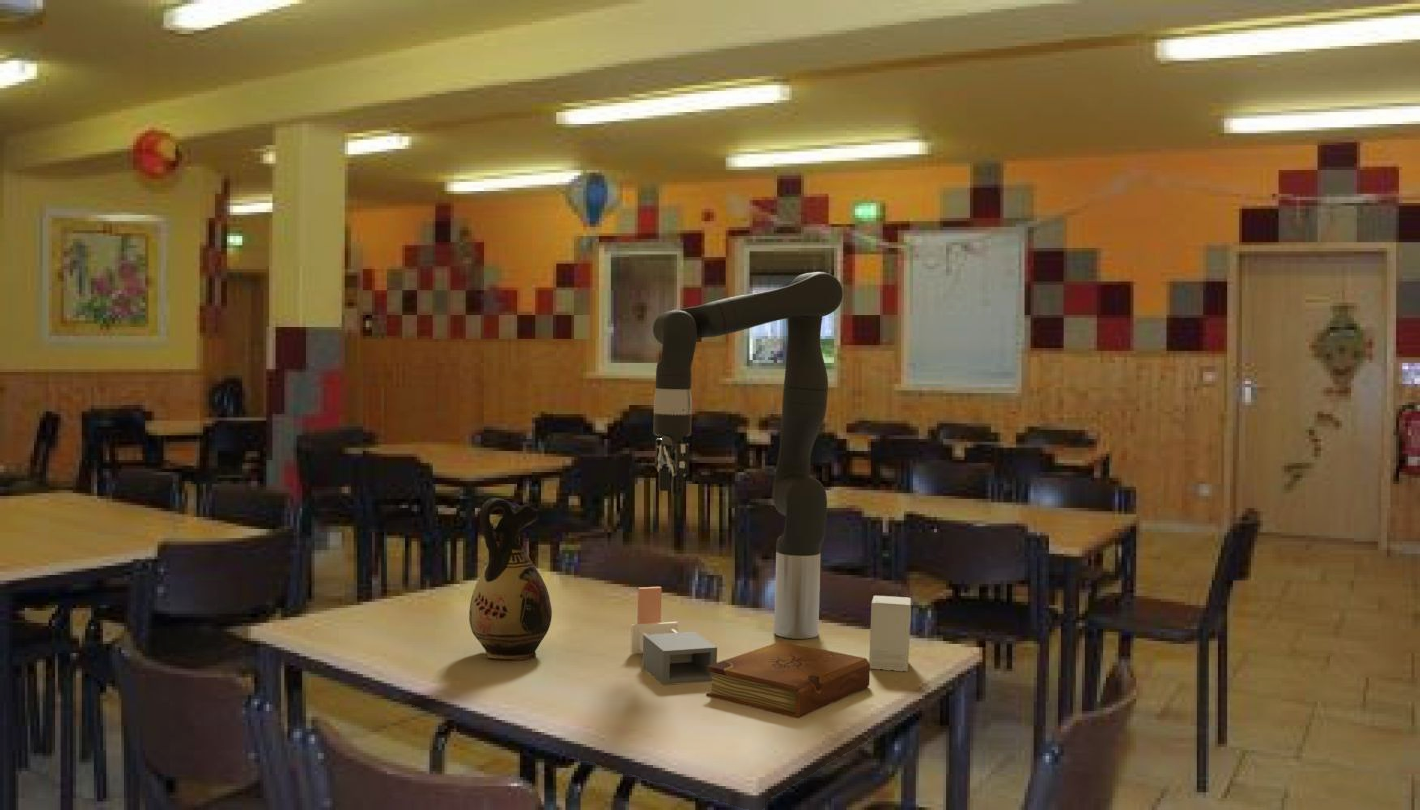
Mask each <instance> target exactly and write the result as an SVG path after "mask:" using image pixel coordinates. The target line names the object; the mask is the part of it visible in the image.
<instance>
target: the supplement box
mask: <svg viewBox="0 0 1420 810" xmlns="http://www.w3.org/2000/svg"><path fill="white" fill-rule="evenodd" d="M911 598H912V597H906V596H905V597H903V596H892V595H891V596H888V595H873V597H872V600H871V607H870V608H871V609H870V611H871V612H870V630H869V631H870V633H869V635H870V636H869V658H868V659H869V660H868V662H869V663H870V670H871V669H872V670H880V669H883V671H891V670H894V672H903V671H906V672H908V671H909V658H910V657H909V656H910V645H911V643H910V641H911V640H910V639H911V622H912V621H911V618H912V617H911V615H912V599H911Z"/></svg>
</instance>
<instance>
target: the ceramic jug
mask: <svg viewBox="0 0 1420 810" xmlns="http://www.w3.org/2000/svg"><path fill="white" fill-rule="evenodd" d="M498 509H499V510H502V517H501V518H500V519H499V521H498V523H497V525H496V527H495V529H494V531H493V528H492V523H491V519H490V518H491V513H492V512H493V511H495V510H498ZM539 517H540V516H539V515H538V513H537V512H536V510H535V509H533V507H531V506H530V505H527V504H523V505H521V506H519V504H516V505H514V507H513V506H512V505H511V503H510V502H509V501H507V500H505V499H503V498H500V497H492V498H490V499H487V500H486V501H484V503H483V504H482V505H481V508H480V511H479V525H480V527H481V532H482V534H483V535H482V536H483V539H484V541H485V542H484V543H485V547H486V548H487V551H488V563H487V564H486V566H485V567H484V568H483V571H482V572H481V574H480V576H479V577H478V579H477V582H476V584H475V586H474V589H473V592H472V595H471V600H470V603H469V609H468V610H469V613H468V619H469V626H470V630H471V632H472V634H473V636H474V637H475V638H476V639H477V641H478V642H479V643H480V644H481V646H482V647H483V648H484V651H485V653H486V654H485V655H486V657H487V658H488V659H500V660H514V661H517V660H525V659H526V660H527V659H533V658H535V657H536V655H537V653H536V651H537V649H538V647H539V646H540V645H541V643H542V641H543V640H544V638H545V637H546V635H547V634H548V632H549V629H550V628H551V627H550V626H551V623H552V617H553V616H552V615H553V610H552V605H551V598H550V594H549V591H548V588H547V587H548V586H547V585H546V583H545V581H544V580H543V577H542V576H541V574H540V573H539V571H538V569H537V567H536V565H535V564H534V563H533V561H532V560H531V558H530V557H529V556H528V555H527V552H525V550H524V547H522V545H521V544H520V543H521V541H520V538H519V533H520V532H521V531H522V530H523V529H524V528H526V527H527V526H529V525H530V524H532V523H534V522H536V521H537V520H539ZM494 532H496V533H498V534H501V537H500V542H499V545H498V543H497V541H496V538H495V535H494Z"/></svg>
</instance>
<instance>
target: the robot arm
mask: <svg viewBox="0 0 1420 810" xmlns="http://www.w3.org/2000/svg"><path fill="white" fill-rule="evenodd" d="M843 291H844V290H843V287H842V284H841V282H840V281H839V279H838V278H837V277H835V275H832V274H830V273H828V272H824V271H816V272H815V271H813V272H806V273H803V274H799V275H798V276H796V277H795V278H793V280H792V281H791V282H790V285H787V286H783V287H781V288H776V289H772V290H767V291H766V290H765V291H762V292H761V291H759V292H755V293H749V294H742V295H736V296H731V297H726V298H722V299H718V300H714V301H710V302H707V303H703V304H701V305H697V306H691V307H690V306H689V307H685V308H680V309H673V310H670V311H666V312H663V313H661V314H660V315H659V316H658V317H656V319H655V320H654V322H653V325H652V332H653V336H654V338H655V340H657V342H658V343H660V344H662V348H661V349H662V351H661V358H660V359H659V361H658V362H657V365H656V368H655V391H654V397H653V398H654V399H653V431H652V432H653V435H654V436H658V437H661V438H655V453H654V467H655V468H656V470H657V472H658V490H659V491H661V492H666V491H667V492H668V491H670V490H671V495H672V496H675V497H682V496H683V495H684V494H685V493H684V492H685V491H684V490H685V477H686V476H687V475H689V473H690V444H689V443H685V442H684V441H683V437H689V436H691V434H692V416H693V415H692V411H693V410H692V408H693V407H692V406H693V399H692V365H693V361H694V356H695V351H696V347H697V340H699V339H703V338H713V337H720V336H725V335H729V334H733V333H736V332H740V331H743V330H747V329H751V328H752V329H753V328H755V327H758V326H761V325H764V324H770V323H771V322H776V321H782V320H785V319H787V348H786V355H785V357H786V358H785V370H784V380H783V381H784V382H783V388H782V389H783V390H782V391H783V393H782V402H781V403H782V405H781V407H782V409H781V420H780V421H781V424H780V435H779V436H780V437H779V449H778V450H779V451H778V457H777V462H776V468H775V469H776V470H775V473H774V479H773V485H772V494H771V495H772V502H773V506H774V507H775V509H776V511H778V513H779V514H781V515H782V516H785V519H784V520H785V521H784V522H785V523H784V530H783V533H782V535H780V536H778V538H777V539H776V545H775V546H776V549H775V551H776V553H775V583H774V584H775V589H774V590H775V592H774V615H773V616H774V618H773V620H774V621H773V622H774V623H773V624H774V625H773V634H774V635H775V636H779V637H780V638H781V637H782V638H786V639H793V640H795V639H796V640H801V639H813V638H815V637H817V636H819V624H820V623H819V619H820V617H819V616H820V615H819V614H820V592H821V591H820V589H821V588H820V587H821V584H820V583H821V582H820V581H821V580H820V579H821V553H822V545H823V542H824V540H825V536H826V526H827V515H828V514H827V513H828V497H827V492H826V488H825V487H824V485H823V484H822V482H821V481H820V480H817V479H816V478H814V477H811V459H812V458H811V456H812V451H813V448H814V444H815V442H816V439H817V437H818V435H819V433H820V430H821V428H822V426H823V423H824V420H825V417H826V412H827V405H828V393H829V391H828V390H829V378H828V373H827V367H826V364H825V360H824V356H823V352H822V351H823V350H822V346H821V345H822V344H821V333H822V324H823V317H826V316H828V315H830V314H832V313H834V312H835V311H836V310H837V309H838V308H839V306H840V305H841V303H842V301H843V296H844V295H843V294H844V293H843ZM671 475H672V476H671Z"/></svg>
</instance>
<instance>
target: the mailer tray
mask: <svg viewBox="0 0 1420 810" xmlns="http://www.w3.org/2000/svg"><path fill="white" fill-rule="evenodd" d="M662 591H663V590H662V586H648V587H647V586H645V587H644V586H643V587H637V622H636V623H633V624H632V623H631V625H630V627H631V634H630V653H631V654H643V635H648V634H664V633H679V621H669V622H667V621H666V622H662V593H663V592H662ZM684 662H692V654H679V655H670V663H684Z"/></svg>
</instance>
